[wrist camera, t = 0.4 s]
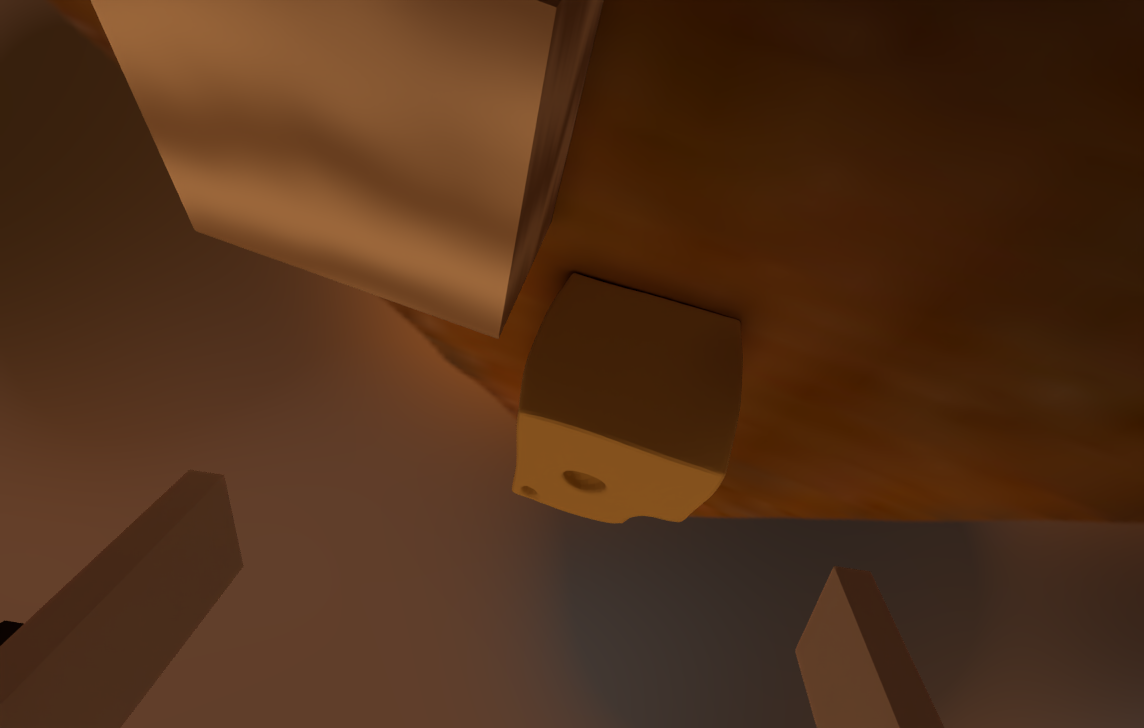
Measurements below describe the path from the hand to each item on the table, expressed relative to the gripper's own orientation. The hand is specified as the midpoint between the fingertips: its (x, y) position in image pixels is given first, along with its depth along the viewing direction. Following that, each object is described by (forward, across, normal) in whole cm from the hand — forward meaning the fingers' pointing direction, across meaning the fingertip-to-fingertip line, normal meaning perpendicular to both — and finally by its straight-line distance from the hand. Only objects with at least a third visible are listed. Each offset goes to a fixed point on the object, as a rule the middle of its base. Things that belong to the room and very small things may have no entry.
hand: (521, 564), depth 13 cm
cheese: (+24, +4, -5) cm, 25 cm away
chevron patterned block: (+18, -8, +10) cm, 22 cm away
